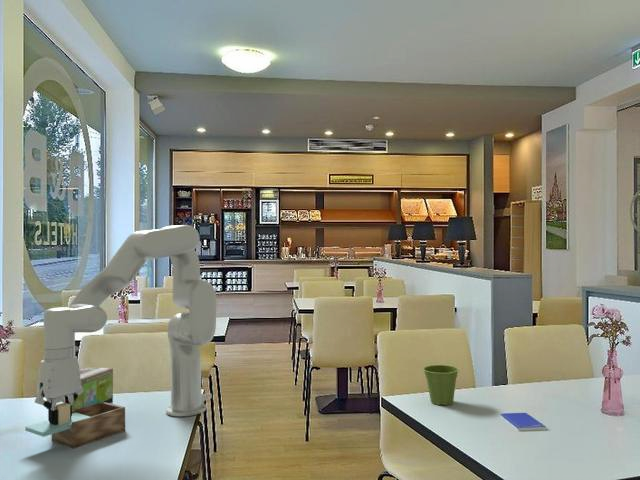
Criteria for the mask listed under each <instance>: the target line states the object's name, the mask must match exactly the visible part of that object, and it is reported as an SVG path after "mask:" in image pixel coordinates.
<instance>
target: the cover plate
mask: <svg viewBox="0 0 640 480" xmlns="http://www.w3.org/2000/svg"><path fill="white" fill-rule="evenodd" d="M56 409H57V410H58V424H57V425H53V424H50V423H49V420H48V419H47V420H45V421H42V422H38V423H34V424H31V425H28V426H27V425H26V426H25V431H26V432H28V433H30V434H34V435H37V436H40V437H42V438H44V437H47V436H50V435H51V436H52V434H54V433H58V432H61V431H64V430H67V429H71V428H72V422H76V421H79V420H82V419H85V418H89V417H90V416H86V415H82V414H79V413H72V416H71V421H70V404H68V403H64V402H58V403H56Z"/></svg>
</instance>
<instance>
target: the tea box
mask: <svg viewBox="0 0 640 480" xmlns="http://www.w3.org/2000/svg"><path fill="white" fill-rule="evenodd" d="M113 368H114V367H113ZM113 368H112V367H94V366H93V367H91V366H89V367H88V366H86V367H84V368H81V369H80V378H81V386H82V388H83V389H84V392H83V393H82V394H80V395H79V396H78V397H77V399H76V400H75V401H74V404H73V405H72V410H76V409H79V408H83V407H86V406H90V405H93V404H97V403H101V402H107V403H111V404H114V401H113V400H114V369H113ZM58 402H64V396H62V397H58V398H57V402H56V403H58Z"/></svg>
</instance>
